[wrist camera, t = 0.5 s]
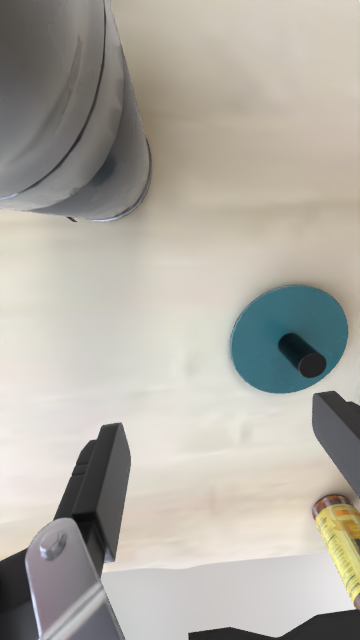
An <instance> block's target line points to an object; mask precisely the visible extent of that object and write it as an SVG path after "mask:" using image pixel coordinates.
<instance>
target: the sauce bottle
mask: <svg viewBox="0 0 360 640" xmlns="http://www.w3.org/2000/svg"><path fill="white" fill-rule="evenodd" d="M312 514H313V518H314V520H315V521H316V525H317V527H318V529H319V532H320V534H321V536H322V538H323V540H324V542H325V544H326V547H327V549H328V551H329V553H330V555H331V557H332V559H333V561H334V563H335V566H336V568H337V570H338V572H339V574H340V576H341V578H342V581H343V583H344V585H345V587H346V589H347V591H348V594H349V596H350V598H351V600H352V602H353V604H354V606H355V607H356V609H359V610H360V513H359V511H358V510H357V509H356V508H355V507H354V506H353V504H352V503H351V502H350V500H348V499H347V498H345V497H344V496H337V495H336V496H333V495H329V496H326V497H325V498H323V499H321V500H320V501H318V502H317V503H316V504H315V506H314V508H313V513H312Z"/></svg>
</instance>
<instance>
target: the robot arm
mask: <svg viewBox="0 0 360 640" xmlns="http://www.w3.org/2000/svg"><path fill="white" fill-rule="evenodd" d="M151 173H152V159H151V153H150V148H149V144H148V141H147V138H146V136H145V133H144V129H143V125H142V121H141V117H140V114H139V110H138V106H137V102H136V98H135V95H134V91H133V87H132V83H131V79H130V76H129V72H128V68H127V64H126V60H125V57H124V53H123V49H122V45H121V42H120V38H119V34H118V30H117V27H116V23H115V19H114V16H113V12H112V9H111V5H110V1H109V0H0V209H6V210H15V211H23V212H32V213H41V214H50V215H58V216H66V217H67V218H69V219H70V220H72V221H73V222H77V221H76V220H74V219H73V218H71V217H76V218H84V219H88V220H93V221H112V220H117V219H119V218H122V217H124V216H126V215H127V214H129V213H130V212H132V211H133V210H134V209H135V208H136V207H137V206H138V205H139V204H140V202H141V201H142V200H143V198H144V196H145V194H146V192H147V190H148V187H149V184H150V180H151ZM312 426H313V430H314V433H315V436H316V438H317V439H318V441H319V442H320V444H321V445H322V446H323V448H324V449H325V451H326V452H327V454H328V455H329V456H330V458H331V459H332V461H333V462H334V463H335V465H336V466H337V468H338V469H339V470H340V472H341V473H342V475H343V476H344V477H345V479H346V480H347V482H348V483H349V484H350V486H351V487H352V489H353V490H354V491H355V493H356V494H357V496H358V497H359V498H360V406H359V405H357V404H355V403H353V402H346V401H345V400H344V399H343V398H342V397H341V396H340V395H339V394H338V393H337V392H335V391H328V392H322V393H315V394H314V395H313V408H312ZM130 466H131V456H130V450H129V446H128V443H127V439H126V435H125V432H124V428H123V425H122V423H114V424H107V425H103V426H102V427H101V429H100V432H99V435H98V438H97V440H90V441H89V442H88V444H87V445H86V446H85V447H84V449H83V450H82V451H81V453H80V455H79V458H78V460H77V463H76V466H75V468H74V470H73V473H72V477H70V480H69V482H68V485H67V487H66V490H65V492H64V495H63V497H62V500H61V502H60V505H59V507H58V510H57V512H56V515H55V517H54V519H53V521H52V522H50V523H49V524H47V525H46V526H45V527H43V528H42V529H41V530H40V531H39V532H38V534H37V535H36V536H35V537H34V539H33V540H32V542H31V543H30V545H29V547H28V548H26V549H24V550H22V551H20V552H18V553H16V554H14V555H12V556H10V557H8V558H6V559H4V560H2V561H0V640H39V639H40V640H125V637H124V635H123V632H122V630H121V628H120V625H119V623H118V621H117V618H116V616H115V614H114V611H113V609H112V606H111V604H110V601H109V599H108V597H107V595H106V592H105V590H104V587H103V585H102V583H101V580H100V578H101V574H102V569H103V564H104V563H108V562H114V561H115V557H116V551H117V545H118V539H119V533H120V527H121V520H122V514H123V508H124V502H125V496H126V490H127V484H128V478H129V472H130ZM188 634H189V635H188V636H189V640H360V610H359V609H355V610H349V611H341V612H334V613H327V614H320V615H316V616H314V617H313V618H311V619H309V620H308V621H306V622H304V623H303V624H301V625H299V626H298V627H296V628H294V629H293V630H291V631H290V632H288V633H286V634H285V635H283V636H281V637H277V638H274V637H269V636H265V635H260V634H257V633H252V632H248V631H244V630H240V629H236V628H231V627H227V628H220V629H213V630H206V631H199V632H193V633H188Z"/></svg>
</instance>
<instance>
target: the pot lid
mask: <svg viewBox="0 0 360 640" xmlns="http://www.w3.org/2000/svg"><path fill="white" fill-rule="evenodd" d="M347 338H348V324H347V319H346V316H345V313H344V311H343V309H342V307H341V306H340V305H339V303H338V302H337V301H336V300H335V299H334V298H333V297H332V296H330V295H329V294H327V293H326V292H324V291H322V290H320V289H317V288H314V287H311V286H306V285H287V286H282V287H278V288H275V289H273V290H270V291H268V292H266V293H264V294H262V295H261V296H259V297H258V298H256V299H255V300H254V301H253V302H251V303H250V304H249V305H248V306H247V307H246V308H245V309H244V311H243V312H242V313H241V315H240V316H239V318H238V320H237V321H236V323H235V326H234V328H233V331H232V335H231V340H230V353H231V358H232V361H233V364H234V366H235V368H236V370H237V372H238V373H239V374H240V376H241V377H242V378H243V379H244V380H245V381H246V382H247V383H249V384H250V385H251V386H253V387H255V388H257V389H259V390H262V391H265V392H269V393H291V392H296V391H299V390H302V389H305V388H307V387H310V386H312V385H314V384H315V383H317V382H319V381H320V380H321V379H323V378H324V377H325V376H326V375H327V374H329V373H330V372H331V370H332V369H333V368H334V367H335V366H336V364H337V363H338V362H339V360H340V358H341V356H342V355H343V352H344V350H345V347H346V343H347Z"/></svg>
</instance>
